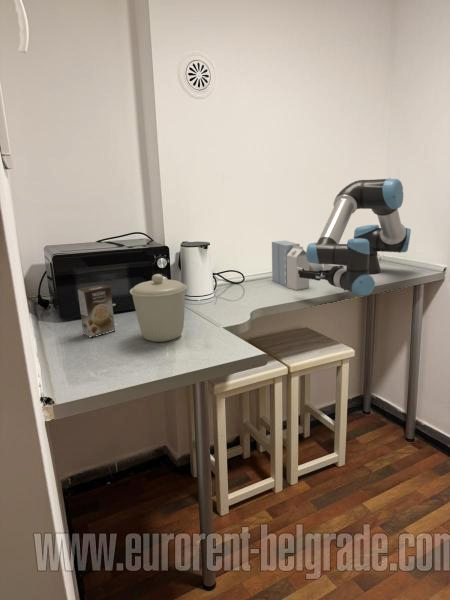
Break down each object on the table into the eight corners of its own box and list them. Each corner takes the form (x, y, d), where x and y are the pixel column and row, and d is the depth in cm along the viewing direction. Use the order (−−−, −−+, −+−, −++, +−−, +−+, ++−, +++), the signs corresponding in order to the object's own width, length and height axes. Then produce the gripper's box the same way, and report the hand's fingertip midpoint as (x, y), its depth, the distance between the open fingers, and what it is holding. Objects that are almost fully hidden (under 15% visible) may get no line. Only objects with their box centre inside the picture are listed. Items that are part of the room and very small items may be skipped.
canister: (166, 350, 130) (160, 283, 124) (123, 341, 139) (115, 277, 134) (201, 332, 144) (197, 270, 139) (160, 324, 154) (154, 266, 148)
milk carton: (299, 285, 200) (299, 244, 194) (309, 288, 194) (309, 246, 188) (286, 287, 196) (286, 246, 191) (296, 290, 190) (296, 247, 185)
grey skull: (300, 276, 216) (300, 261, 214) (311, 273, 221) (311, 259, 219) (317, 280, 208) (317, 264, 206) (328, 277, 213) (328, 262, 211)
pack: (285, 278, 213) (284, 240, 208) (299, 284, 200) (299, 243, 195) (271, 280, 210) (271, 241, 205) (285, 286, 198) (285, 245, 193)
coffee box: (91, 338, 143) (84, 292, 139) (82, 334, 148) (76, 289, 143) (116, 331, 149) (110, 286, 145) (107, 327, 154) (101, 283, 149)
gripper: (312, 291, 160) (284, 280, 179) (367, 283, 168) (335, 273, 187) (312, 271, 158) (284, 262, 177) (368, 264, 166) (336, 256, 185)
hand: (310, 268), depth 182 cm, fingers open, 13 cm apart
